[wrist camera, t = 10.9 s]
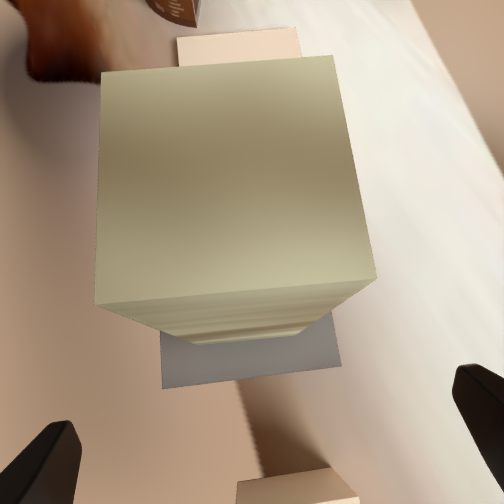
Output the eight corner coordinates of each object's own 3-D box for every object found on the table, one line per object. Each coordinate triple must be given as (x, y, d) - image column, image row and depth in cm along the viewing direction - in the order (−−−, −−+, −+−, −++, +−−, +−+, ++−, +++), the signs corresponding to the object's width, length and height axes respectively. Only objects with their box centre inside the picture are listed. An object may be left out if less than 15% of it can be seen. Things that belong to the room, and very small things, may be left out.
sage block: (294, 335, 19) (377, 278, 7) (197, 344, 19) (93, 304, 6) (283, 243, 20) (332, 55, 8) (193, 251, 20) (101, 72, 8)
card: (323, 170, 25) (326, 162, 24) (191, 185, 24) (188, 177, 24) (294, 36, 29) (295, 24, 28) (178, 46, 28) (176, 35, 27)
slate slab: (329, 367, 21) (341, 366, 19) (173, 387, 21) (162, 389, 18) (303, 225, 24) (311, 205, 21) (166, 240, 24) (155, 221, 21)
